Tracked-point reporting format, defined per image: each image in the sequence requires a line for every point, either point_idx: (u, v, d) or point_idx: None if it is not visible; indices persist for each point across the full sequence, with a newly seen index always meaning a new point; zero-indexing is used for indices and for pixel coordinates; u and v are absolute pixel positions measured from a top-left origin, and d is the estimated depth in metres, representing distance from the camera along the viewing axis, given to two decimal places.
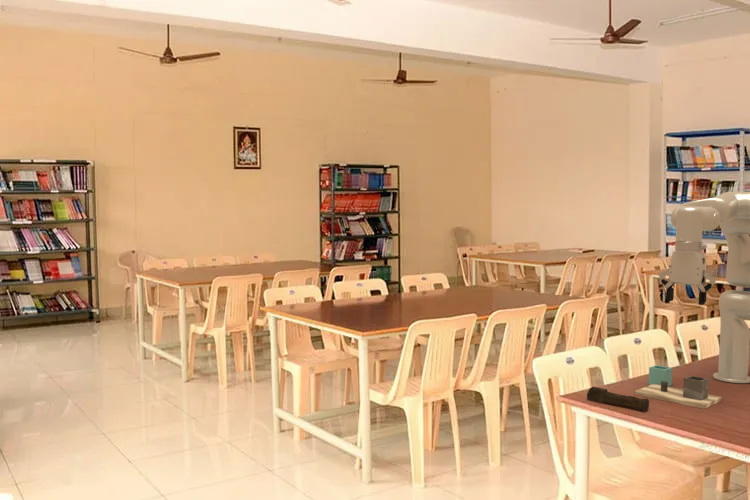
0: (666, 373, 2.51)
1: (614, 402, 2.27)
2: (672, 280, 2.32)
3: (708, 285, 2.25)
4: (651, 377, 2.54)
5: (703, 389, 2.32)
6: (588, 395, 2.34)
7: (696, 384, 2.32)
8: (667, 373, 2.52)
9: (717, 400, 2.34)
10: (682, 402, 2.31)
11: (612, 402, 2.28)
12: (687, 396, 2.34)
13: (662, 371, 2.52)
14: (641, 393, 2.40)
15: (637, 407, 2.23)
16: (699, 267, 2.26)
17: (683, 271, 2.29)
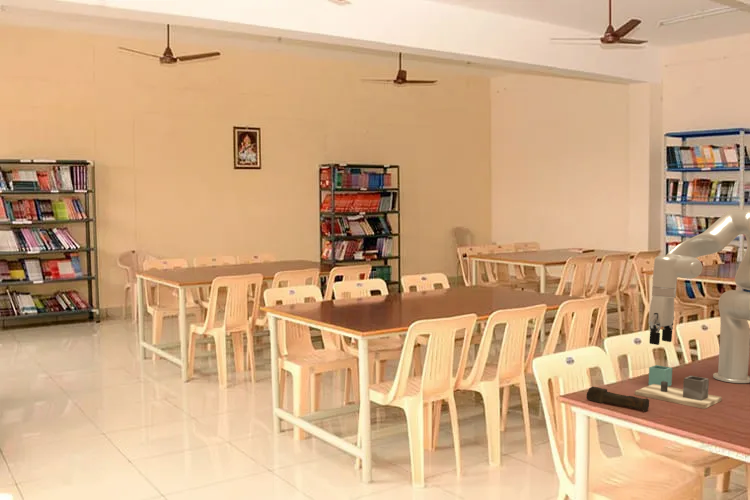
0: (666, 373, 2.51)
1: (614, 402, 2.27)
2: (663, 324, 2.50)
3: (672, 323, 2.58)
4: (651, 377, 2.54)
5: (703, 389, 2.32)
6: (588, 395, 2.33)
7: (696, 384, 2.32)
8: (667, 373, 2.52)
9: (717, 400, 2.34)
10: (682, 402, 2.31)
11: (612, 402, 2.28)
12: (687, 396, 2.34)
13: (662, 371, 2.52)
14: (641, 393, 2.40)
15: (637, 407, 2.23)
16: None
17: (669, 315, 2.52)
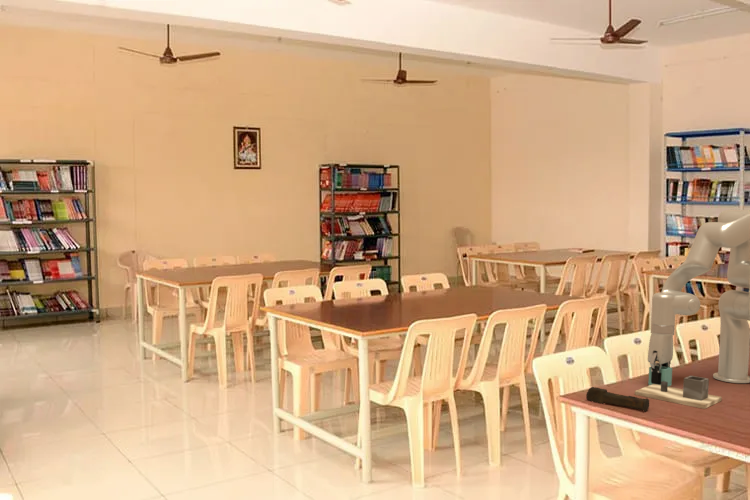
0: (666, 373, 2.52)
1: (614, 402, 2.27)
2: (662, 362, 2.51)
3: None
4: None
5: (703, 389, 2.32)
6: (587, 395, 2.33)
7: (696, 384, 2.32)
8: (667, 373, 2.52)
9: (717, 400, 2.34)
10: (682, 402, 2.31)
11: (612, 402, 2.28)
12: (687, 396, 2.34)
13: (662, 371, 2.52)
14: (641, 393, 2.40)
15: (638, 407, 2.23)
16: None
17: (668, 352, 2.53)
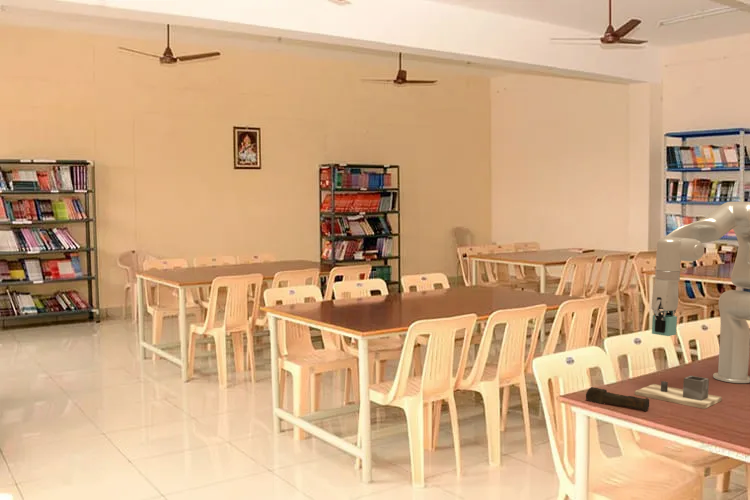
0: (670, 321, 2.42)
1: (614, 402, 2.27)
2: (666, 309, 2.41)
3: (674, 312, 2.48)
4: None
5: (703, 389, 2.32)
6: (587, 396, 2.33)
7: (696, 384, 2.32)
8: (671, 321, 2.43)
9: (717, 400, 2.34)
10: (682, 402, 2.31)
11: (612, 402, 2.28)
12: (687, 396, 2.34)
13: (666, 319, 2.42)
14: (641, 393, 2.40)
15: (638, 407, 2.23)
16: None
17: (673, 299, 2.43)
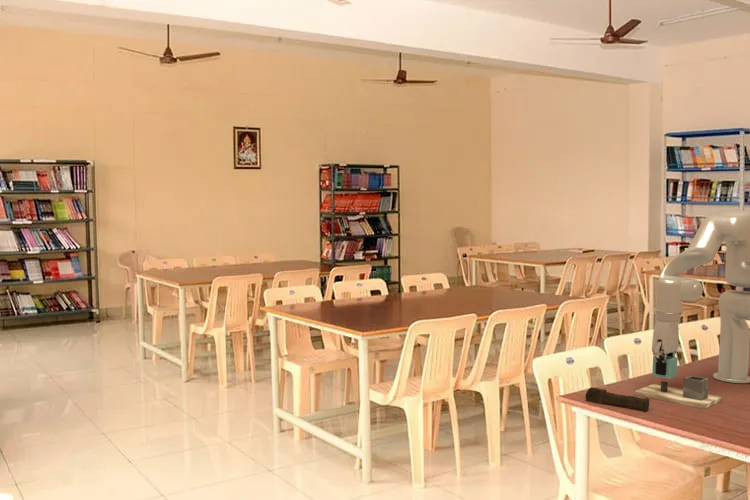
0: (671, 363, 2.38)
1: (614, 402, 2.27)
2: (667, 351, 2.37)
3: None
4: (655, 367, 2.41)
5: (703, 389, 2.32)
6: (587, 396, 2.33)
7: (696, 384, 2.32)
8: (672, 363, 2.39)
9: (717, 400, 2.34)
10: (682, 402, 2.31)
11: (612, 402, 2.28)
12: (687, 396, 2.34)
13: (667, 361, 2.38)
14: (641, 393, 2.40)
15: (638, 407, 2.23)
16: (678, 334, 2.42)
17: (673, 341, 2.39)
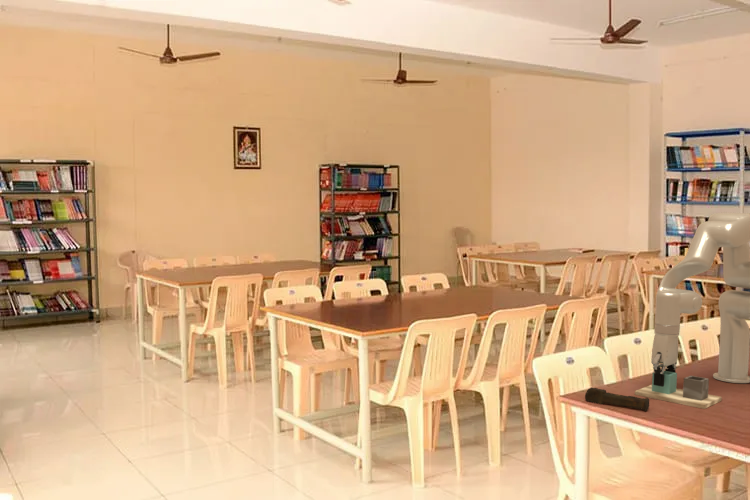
0: (670, 379, 2.38)
1: (614, 402, 2.27)
2: (666, 364, 2.37)
3: (675, 362, 2.45)
4: None
5: (703, 389, 2.32)
6: (586, 396, 2.32)
7: (696, 384, 2.32)
8: (671, 379, 2.39)
9: (717, 400, 2.34)
10: (682, 402, 2.31)
11: (612, 403, 2.27)
12: (687, 396, 2.34)
13: (666, 376, 2.38)
14: (641, 393, 2.40)
15: (638, 407, 2.23)
16: (677, 346, 2.43)
17: (673, 353, 2.39)
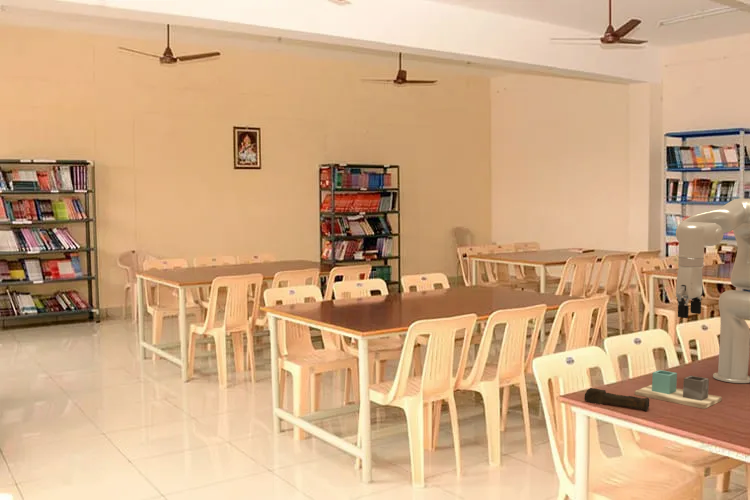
0: (670, 379, 2.38)
1: (614, 403, 2.27)
2: (691, 296, 2.38)
3: (701, 294, 2.46)
4: (655, 383, 2.41)
5: (703, 389, 2.32)
6: (586, 397, 2.32)
7: (696, 384, 2.32)
8: (671, 379, 2.39)
9: (717, 400, 2.34)
10: (682, 402, 2.31)
11: (612, 403, 2.27)
12: (687, 396, 2.34)
13: (666, 376, 2.38)
14: (641, 393, 2.40)
15: (639, 407, 2.23)
16: None
17: (697, 286, 2.40)
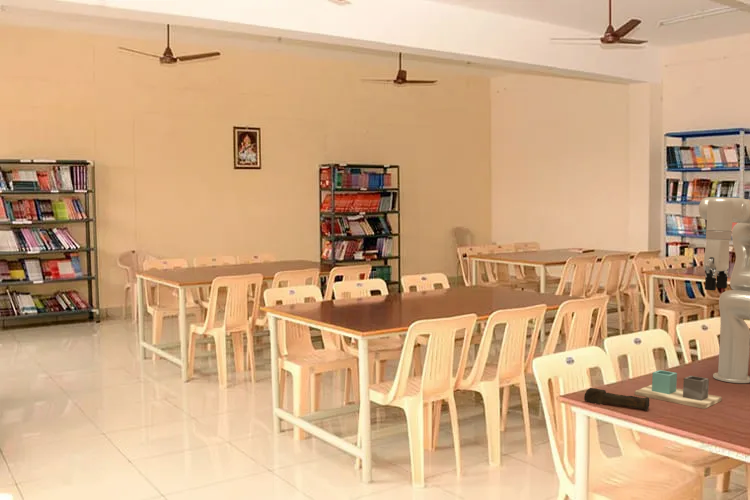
0: (670, 379, 2.38)
1: (614, 402, 2.27)
2: (719, 269, 2.39)
3: (727, 269, 2.47)
4: (655, 383, 2.41)
5: (703, 389, 2.32)
6: (586, 397, 2.32)
7: (696, 384, 2.32)
8: (671, 379, 2.39)
9: (717, 400, 2.34)
10: (682, 402, 2.31)
11: (612, 403, 2.27)
12: (687, 396, 2.34)
13: (666, 376, 2.38)
14: (641, 393, 2.40)
15: (639, 406, 2.23)
16: None
17: (725, 259, 2.41)
